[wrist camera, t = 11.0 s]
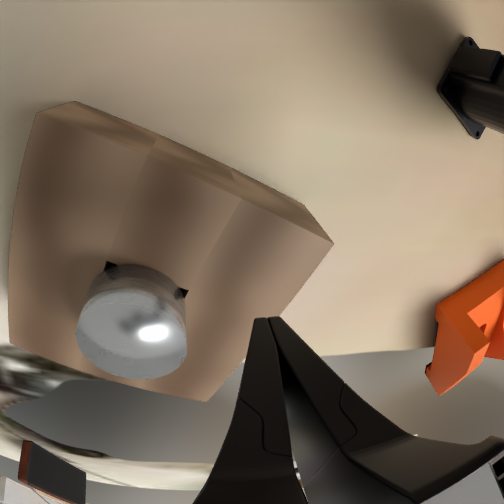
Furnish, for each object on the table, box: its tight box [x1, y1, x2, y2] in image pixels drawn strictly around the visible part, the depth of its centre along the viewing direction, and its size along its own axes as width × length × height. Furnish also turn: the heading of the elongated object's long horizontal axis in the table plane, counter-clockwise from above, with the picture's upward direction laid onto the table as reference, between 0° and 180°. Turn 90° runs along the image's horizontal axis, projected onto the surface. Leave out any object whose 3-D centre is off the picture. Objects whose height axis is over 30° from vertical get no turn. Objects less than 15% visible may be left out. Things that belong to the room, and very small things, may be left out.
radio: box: [18, 441, 86, 504], centre depth 33 cm, size 19×3×15 cm, turn 13°
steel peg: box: [75, 264, 187, 380], centre depth 17 cm, size 6×6×8 cm
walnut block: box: [8, 101, 334, 402], centre depth 18 cm, size 16×16×5 cm
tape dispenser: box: [425, 260, 504, 396], centre depth 31 cm, size 18×13×8 cm
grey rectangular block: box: [0, 476, 65, 504], centre depth 58 cm, size 32×11×11 cm, turn 21°
